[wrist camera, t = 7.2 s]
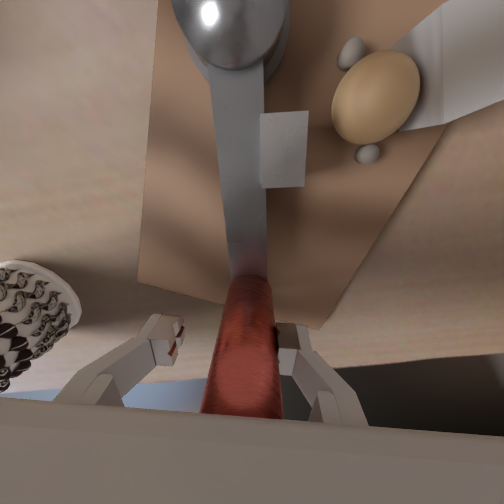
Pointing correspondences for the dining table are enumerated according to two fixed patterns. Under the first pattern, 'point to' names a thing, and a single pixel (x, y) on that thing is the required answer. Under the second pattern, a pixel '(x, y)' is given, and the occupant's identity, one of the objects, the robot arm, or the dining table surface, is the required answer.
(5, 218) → the dining table surface
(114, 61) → the dining table surface
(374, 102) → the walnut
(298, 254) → the base
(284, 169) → the lever
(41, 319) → the decorative candle
